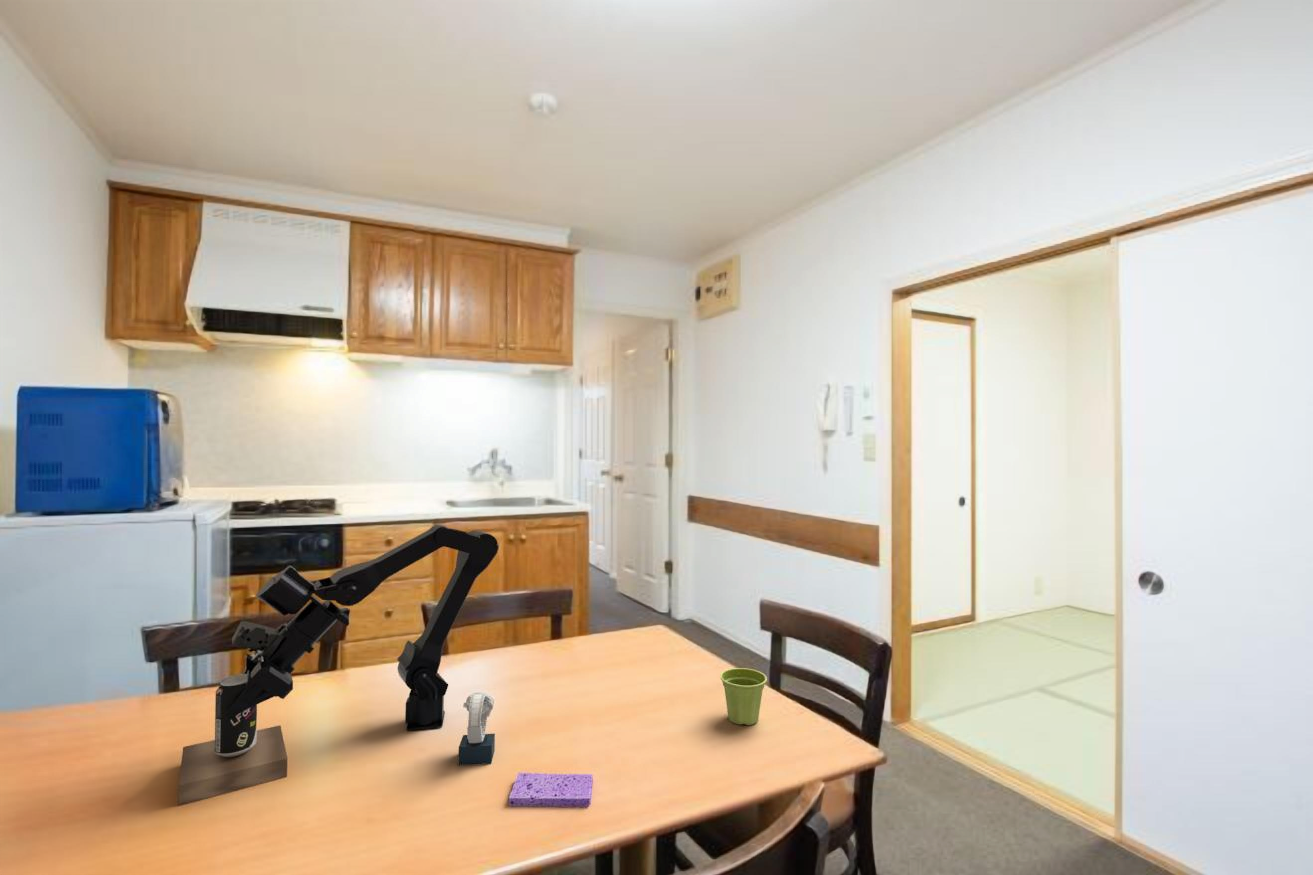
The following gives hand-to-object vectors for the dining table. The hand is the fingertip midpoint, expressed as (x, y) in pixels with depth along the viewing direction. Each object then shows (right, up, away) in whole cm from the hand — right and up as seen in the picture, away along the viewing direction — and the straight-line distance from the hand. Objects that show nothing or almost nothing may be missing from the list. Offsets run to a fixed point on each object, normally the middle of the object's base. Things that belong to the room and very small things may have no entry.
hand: (226, 709), depth 99 cm
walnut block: (+1, -10, +1) cm, 11 cm away
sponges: (+55, -12, -4) cm, 56 cm away
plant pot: (+89, -12, +23) cm, 93 cm away
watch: (+40, -11, +6) cm, 42 cm away
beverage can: (+1, -7, +1) cm, 7 cm away
